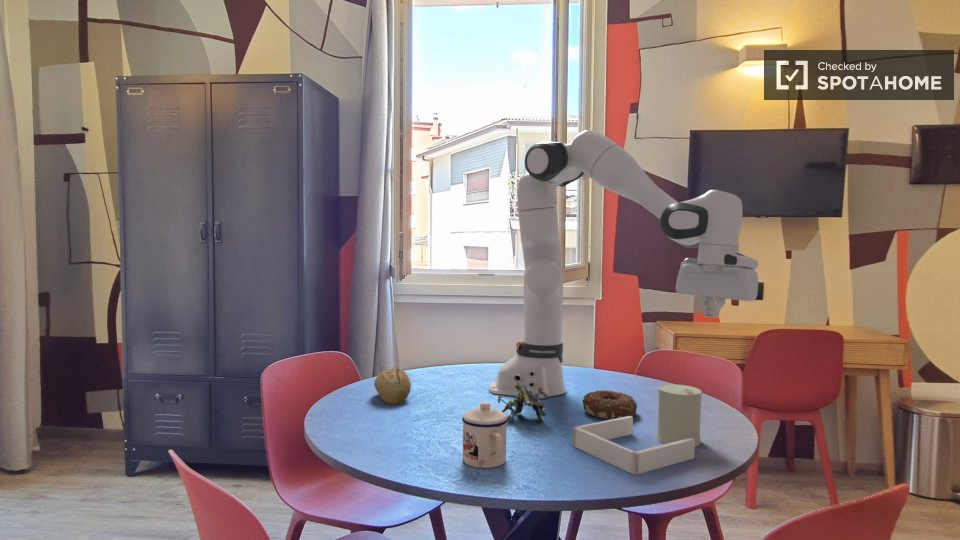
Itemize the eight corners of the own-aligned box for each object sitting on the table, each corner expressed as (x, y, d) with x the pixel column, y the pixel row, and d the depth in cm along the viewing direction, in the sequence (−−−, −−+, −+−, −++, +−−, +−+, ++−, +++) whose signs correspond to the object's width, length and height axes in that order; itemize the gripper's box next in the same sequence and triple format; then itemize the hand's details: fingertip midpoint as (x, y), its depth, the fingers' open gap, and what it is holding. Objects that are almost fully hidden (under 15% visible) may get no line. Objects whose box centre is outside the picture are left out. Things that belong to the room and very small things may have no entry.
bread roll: (402, 390, 169) (403, 363, 169) (416, 404, 155) (416, 374, 155) (369, 393, 166) (369, 365, 165) (380, 408, 152) (380, 377, 151)
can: (679, 450, 124) (680, 394, 123) (647, 437, 132) (649, 384, 131) (709, 443, 128) (711, 389, 127) (677, 431, 136) (679, 380, 136)
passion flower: (538, 443, 143) (559, 411, 136) (498, 439, 139) (516, 406, 133) (528, 406, 151) (547, 375, 145) (490, 402, 148) (507, 369, 142)
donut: (572, 409, 153) (572, 390, 153) (616, 404, 158) (617, 386, 158) (602, 425, 140) (602, 405, 140) (649, 420, 145) (650, 400, 145)
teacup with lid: (454, 455, 119) (455, 399, 118) (495, 449, 123) (495, 395, 122) (478, 478, 108) (479, 416, 107) (522, 470, 112) (523, 410, 111)
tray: (629, 432, 134) (629, 415, 134) (694, 458, 119) (694, 439, 119) (572, 445, 126) (572, 427, 125) (634, 475, 110) (635, 454, 110)
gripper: (673, 255, 145) (667, 311, 145) (747, 258, 128) (740, 321, 127) (690, 258, 148) (684, 312, 148) (765, 261, 131) (758, 323, 131)
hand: (711, 316), depth 138 cm, fingers closed
